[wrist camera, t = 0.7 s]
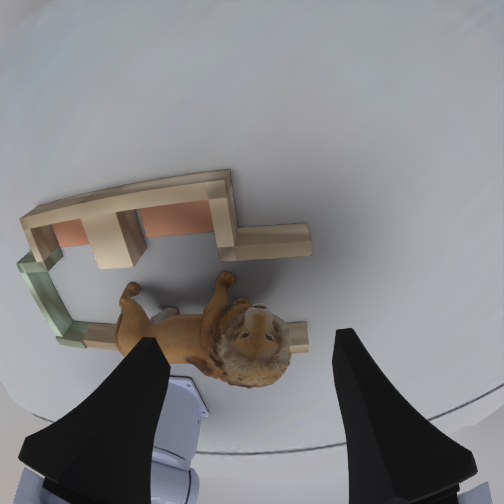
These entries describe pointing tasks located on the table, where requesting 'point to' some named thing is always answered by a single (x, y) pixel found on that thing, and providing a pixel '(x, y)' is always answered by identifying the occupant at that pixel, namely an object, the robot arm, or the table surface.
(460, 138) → the table surface
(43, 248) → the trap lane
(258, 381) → the lion figurine
